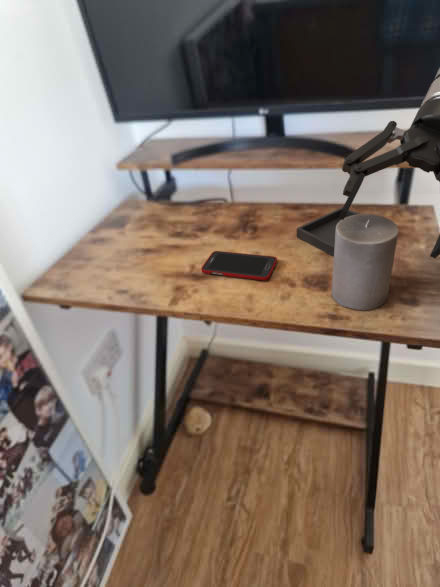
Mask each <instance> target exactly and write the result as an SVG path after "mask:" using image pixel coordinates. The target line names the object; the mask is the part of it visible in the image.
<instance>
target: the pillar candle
mask: <svg viewBox="0 0 440 587" xmlns="http://www.w3.org/2000/svg"><path fill="white" fill-rule="evenodd" d="M399 231H400V230H399V226H398V224H396V222H395V221H393V220H392V219H390V218H387V217H385V216H384V215H383V216H382V215H378V214H371V213H359V214H357V215H352V216H348V217H346V218H344V220H340V221H339V222H338V224H337V225H336V232H335V247H334V257H333V263H332V264H333V265H332V277H331V278H332V280H331V296H332V298H333V300H334V301H335V302H336V303H337V304H338V305H340V306H341V307H345V308H349V309H352V310H357V311H365V312H366V311H371V310H377V309H378V308H379V307H381V306H383V305H384V304H385V303H386V301H387V300H388V297H389V292H390V286H391V279H392V272H393V267H394V261H395V254H396V250H397V249H396V248H397V244H398V236H399Z"/></svg>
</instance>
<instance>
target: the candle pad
mask: <svg viewBox="0 0 440 587" xmlns="http://www.w3.org/2000/svg"><path fill="white" fill-rule="evenodd" d="M342 208H343V206H341V207H339V208H337V209H335V210H333V211H331V212H329V213H327V214H324V215H322V216H320V217H318V218H315V219H313V220H311V221H309V222H307V223H305V224H303V225H301V226H298V227H296V238H297V239H300V240H301V241H303V242H305V243H307V244H309V245H310V246H313V247H314V248H316V249H317V250H321V252H324V253H326V254H328V255H329V256H331V257H333V258H334V247H335V232H336V225H337V224H338V222H339V221H340V220H342V219H340V218H339V216H340V213H341V211H342ZM357 214H360V213H359V212H356V211H353V210H352V209H349V210H348V212H347V214H346V216H345V218H346V217H348V216H352V215H357Z"/></svg>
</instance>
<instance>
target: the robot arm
mask: <svg viewBox="0 0 440 587" xmlns="http://www.w3.org/2000/svg"><path fill="white" fill-rule="evenodd" d="M397 126H398V123H397V121H395V120H390V121H389V122H388V123H387V125H386V126H385V127H384V129H383V130H382V131H381V132H379V133H378V134H377V135H375V136H374V137H372V138H371V139H369V140H368V141H366V142H365V143H364V144H362V145H361V146H360V147H358V148H357V149H355V150H354V151H352V152H351V153H350V154H348V155H347V156H345V157H344V160H343V163H342V166H341V170H342V172H344V173H347V174H348V175H349V177H348V179H347V182H346V184H345V185H344V187H343V190H342V195H343V196H344V197H347V198H346V200H345V203H344V204H343V206H342V207H343V208H342V207H341V208H342V211H341V213H340V216H339V218H340V219H342V220H344V218H345V216H346V214H347V212H348V210H350V208H351V206H352V204H353V202H354V200H355V198H356V196H357V193H359V190H360V188H361V186H362V184H363V182H364V179H365V177H368V176H370V175H373V174H376V173H378V172H380V171H383V170H385V169H387V168H390V167H393V166H399V165H400V164H403V163H405V162H406V163H407V164H408V166H409V167H411V168H417V169H420V170H421V171H423V172H424V173H428V174H430V173H433V175H434V177H435V180H436V181H438V182H439V183H440V67H439V68H438V70H437V73H436V75H435V77H434V79H433V81H432V83H431V84H430V86H429V88H428V90H427V92H426V93H425V96H424V98H423V100H422V102H421V104H420V106H419V109H418V111H417V112H416V115H415V117H414V119H413V121H412V123H411V125H410V126H409V128H408V129H407V130H403V128H402V129H401V128H399V127H397ZM396 140H397V141H398V140H399V143H400V144H399V145H398V146H397V147H396V148H394V149H391V150H389V151H386V152H384V153H382V154H379V155H376V156H374V157H372V156H373V155H374V154H376V153H377V152H378V151H380V150H382V149H383V148H384V147H385V146H386V145H387V144H392V143H394V142H395V141H396ZM370 157H372V158H370ZM368 158H370V159H368ZM439 256H440V234H439V235H438V237H437V239H436V242H435V244H434V246H433V248H432V250H431V252H430V255H429V257H431V258H434V259H436V258H438V257H439Z"/></svg>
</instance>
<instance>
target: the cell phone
mask: <svg viewBox="0 0 440 587" xmlns="http://www.w3.org/2000/svg"><path fill="white" fill-rule="evenodd" d="M277 263H278V258H277V257H276V256H273V255H272V256H271V255H261V254H254V253H253V254H252V253H243V252H233V251H222V250H214V251H213V252H211V254H210V255H209V256H208V258H207V259H206V261H205V262H204V263H203V265H201V266H202V267H201V269H200V270H201V273H202V274H207V275H218V276H223V277H230V278H231V277H232V278H238V279H239V278H240V279H247V280H248V279H249V280H255V281H268V280H269V279H270V278H271V277H272V274H273V270H274V269H275V267H276V265H277Z"/></svg>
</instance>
